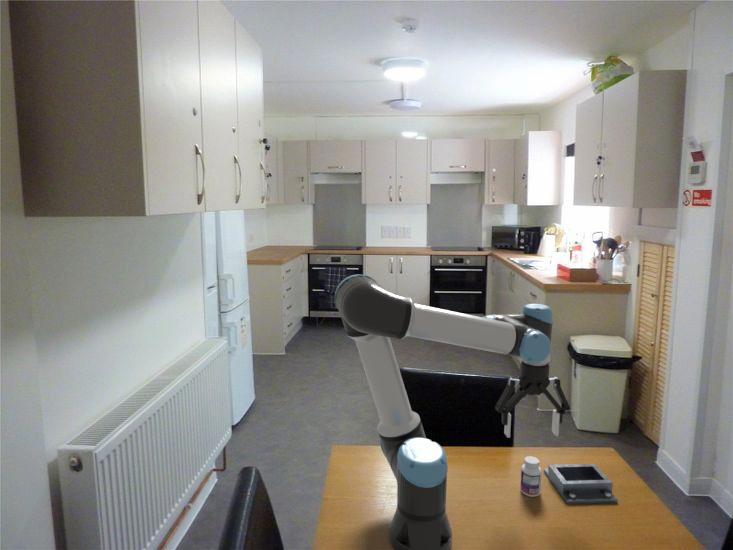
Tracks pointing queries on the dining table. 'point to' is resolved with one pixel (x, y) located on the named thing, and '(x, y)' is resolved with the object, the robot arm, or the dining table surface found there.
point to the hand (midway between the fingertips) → (531, 434)
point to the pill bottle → (530, 477)
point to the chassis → (581, 483)
